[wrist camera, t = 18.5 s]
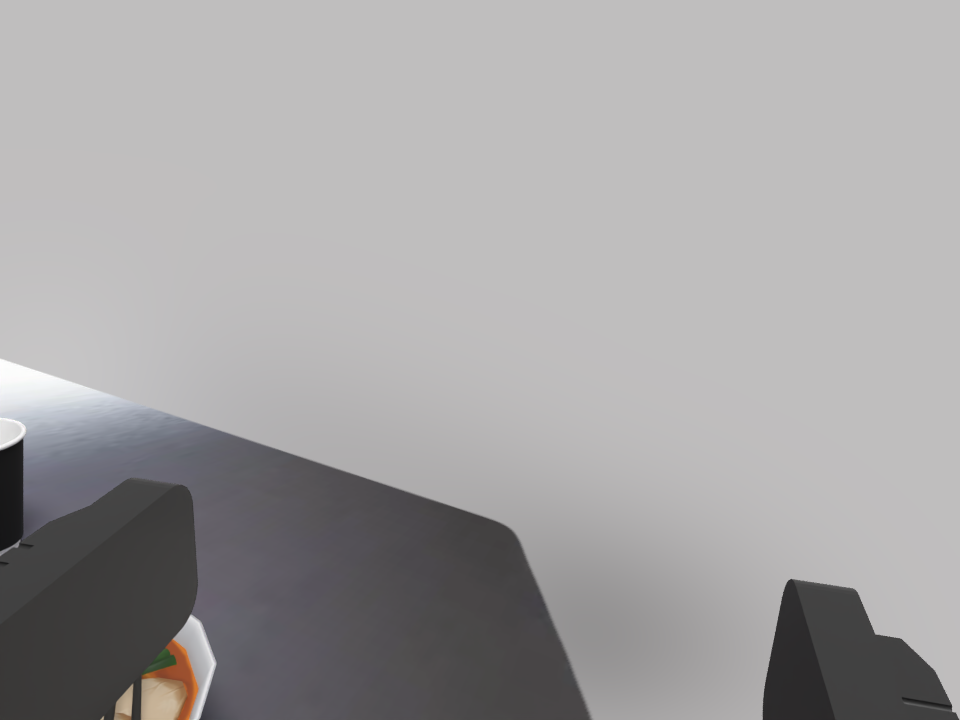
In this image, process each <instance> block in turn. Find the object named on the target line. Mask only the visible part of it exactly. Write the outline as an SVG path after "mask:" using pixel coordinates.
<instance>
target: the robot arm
mask: <svg viewBox="0 0 960 720" xmlns="http://www.w3.org/2000/svg"><path fill="white" fill-rule="evenodd" d="M197 587H198V578H197V562H196V546H195V530H194V514H193V501H192V496H191V494H190V491H189V490H188V488H187V487H185V486H183V485H179V484H173V483H166V482H160V481H153V480H146V479H140V478H130V479H127V480H126V481H124V482H122V483H121V484H120V485H118V486H117V487H115V488H114V489H113V490H111V491H110V492H108V493H107V494H106V495H104V496H103V497H101V498H100V499H99V500H97V501H96V502H94V503H93V504H92V505H90V506H88V507H85V508H83V509H80V510H78V511H75V512H73V513H71V514H68V515H66V516H63V517H61V518H58V519H56V520H53V521H51V522H49V523H47V524H46V525H44V526H43V527H41V528H40V529H38V530H37V531H36V532H34V533H33V534H31V535H30V536H28V537H27V538H26V539H24V540H23V541H21V542H20V543H19V546H18V548H15V547H13V548H11V549H10V550H8V551H7V552H5V553H4V554H2V555H1V556H0V720H101V719H102V717H103V716H104V715H105V714H106V713H107V712H108V711H109V710H110V709H111V707H112V706H113V705H114V704H115V703H116V702H117V701H118V700H119V698H120V697H121V696H122V695H123V694H124V693H125V692H126V691H127V690H128V688H129V687H130V686H131V685H132V684H133V683H134V682H135V681H136V680H137V678H138V677H139V676H140V675H141V674H142V673H143V672H144V671H145V669H146V668H147V667H148V666H149V665H150V664H151V663H152V662H153V661H154V659H155V658H156V657H157V656H158V655H159V654H160V653H161V652H162V651H163V649H164V648H165V647H166V646H167V645H168V644H169V643H170V642H171V641H172V639H173V638H174V637H175V636H176V635H177V634H178V633H179V632H180V630H181V629H182V628H183V627H184V625H185V624H186V622H187V621H188V619H189V617H190V614H191V612H192V610H193V607H194V604H195V600H196V595H197ZM763 720H959V719H958V717H957V714H956V713H954V712H952V704H951V702H950V700H949V698H948V697H947V694H946V692H945V690H944V689H943V686H942V684H941V682H940V680H939V678H938V676H937V674H936V672H935V671H934V670H933V669H932V668H931V667H930V666H929V665H928V664H927V663H926V662H925V661H924V660H923V659H922V658H921V657H920V656H919V655H918V654H917V653H916V652H914V650H912V649H911V648H910V647H909V646H908V645H907V644H906V643H905V642H904V641H903V640H902V639H900V638H894V637H887V636H881V635H875V633H874V630H873V628H872V626H871V623H870V621H869V618H868V616H867V614H866V611H865V609H864V607H863V604H862V602H861V600H860V597H859V595H858V593H857V591H856V590H854V589H853V588H846V587H839V586H833V585H827V584H820V583H813V582H807V581H800V580H793V579H790V580H789V581H788V582H787V584H786V586H785V589H784V592H783V597H782V601H781V606H780V611H779V616H778V622H777V626H776V632H775V637H774V642H773V647H772V652H771V657H770V662H769V667H768V672H767V677H766V682H765V689H764V698H763Z"/></svg>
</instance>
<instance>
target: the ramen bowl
mask: <svg viewBox="0 0 960 720" xmlns="http://www.w3.org/2000/svg"><path fill="white" fill-rule="evenodd" d="M216 664H217V663H216V660H215V658H214V655H213V652H212V649H211V647H210V644H209V641H208V639H207V636H206V633H205V631H204V628H203V625H202V623H201V621H199V620H198V619H197V618H195V617H194V616H193V615H191V614H190V617H189V619H188V621H187V622H186V624H185V625H184V627H183V628H182V629H181V630H180V632H179V633H178V634H177V635H176V636H175V637H174V638H173V639H172V641H171V642H170V643H169V644H168V645H167V646H166V647H165V648H164V649H163V651H162V652H161V653H160V654H159V655H158V656H157V657H156V658H155V659H154V661H153V662H152V663H151V664H150V665H149V666H148V667H147V668H146V669H145V671H144V672H143V673H142V674H141V675H140V676H139V677H138V678H137V680H136V681H135V682H134V683H133V684H132V685H131V686H130V687H129V688H128V690H127V691H126V692H125V693H124V694H123V695H122V696H121V697H120V698H119V700H118V701H117V702H116V703H115V704H114V705H113V706H112V707H111V709H110V710H109V711H108V712H107V713H106V714H105V715H104V716H103V717H102V719H101V720H199V719H200V717H201V714H202V710H203V707H204V704H205V700H206V697H207V694H208V691H209V687H210V684H211V681H212V677H213V674H214V671H215V667H216Z"/></svg>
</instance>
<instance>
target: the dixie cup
mask: <svg viewBox="0 0 960 720" xmlns="http://www.w3.org/2000/svg"><path fill="white" fill-rule="evenodd" d="M26 432H27V430H26V427H25V426H24V425H23V424H22V423H20V422H18V421H16V420H12V419H6V418H0V556H1V555H2V554H4V553H5V552H7V551H8V550H10V549H11V548H13V547H15V548H18V546H19V543H20V539H21V538H22V536H23V438H24V436H25V435H26Z"/></svg>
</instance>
